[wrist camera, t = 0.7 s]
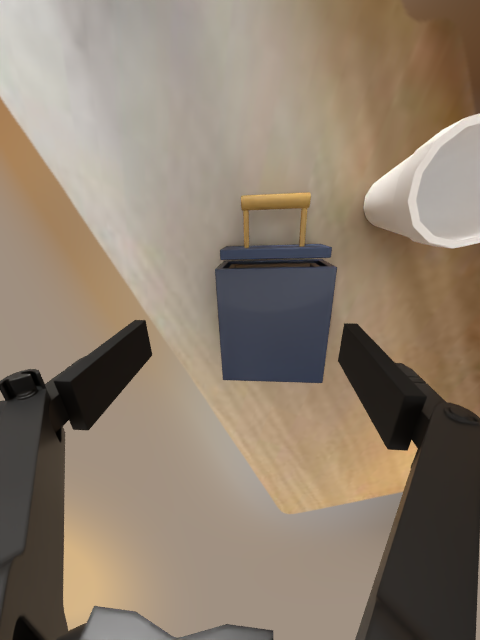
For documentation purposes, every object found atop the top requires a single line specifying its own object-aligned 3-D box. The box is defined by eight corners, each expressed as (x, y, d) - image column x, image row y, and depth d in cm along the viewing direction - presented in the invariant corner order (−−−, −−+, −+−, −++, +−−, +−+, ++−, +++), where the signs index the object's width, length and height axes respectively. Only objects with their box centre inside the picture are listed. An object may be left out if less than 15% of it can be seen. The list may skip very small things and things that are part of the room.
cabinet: (223, 261, 35) (214, 269, 28) (322, 259, 33) (337, 267, 27) (229, 355, 41) (222, 380, 34) (312, 357, 40) (322, 383, 33)
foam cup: (393, 251, 32) (472, 266, 20) (337, 221, 31) (383, 217, 19) (445, 180, 28) (579, 147, 16) (383, 143, 28) (475, 80, 16)
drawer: (223, 199, 31) (216, 194, 26) (326, 195, 29) (338, 188, 25) (231, 341, 39) (226, 358, 34) (311, 342, 38) (319, 360, 33)
